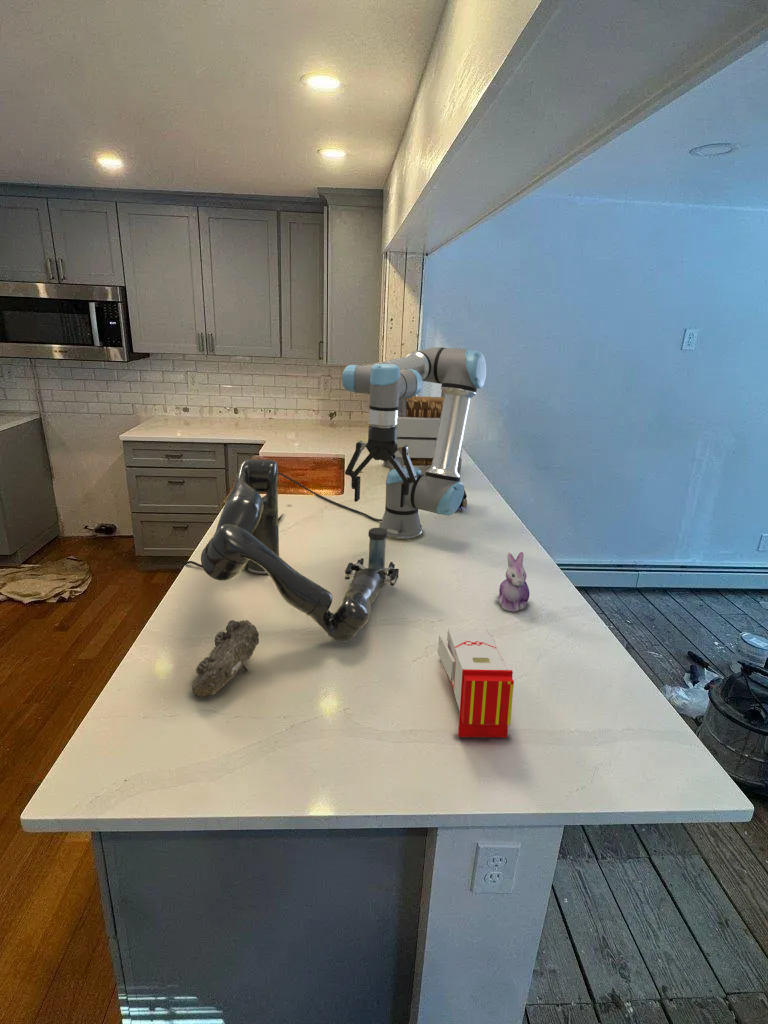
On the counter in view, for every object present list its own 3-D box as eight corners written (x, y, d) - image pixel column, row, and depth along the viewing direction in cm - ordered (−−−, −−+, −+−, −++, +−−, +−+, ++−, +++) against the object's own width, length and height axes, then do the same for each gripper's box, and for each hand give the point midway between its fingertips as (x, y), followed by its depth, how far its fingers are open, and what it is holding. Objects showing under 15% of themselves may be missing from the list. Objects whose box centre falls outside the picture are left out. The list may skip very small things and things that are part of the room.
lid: (380, 531, 162) (380, 526, 162) (390, 537, 158) (391, 532, 158) (364, 534, 159) (364, 529, 159) (375, 541, 155) (375, 535, 155)
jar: (377, 577, 167) (380, 528, 162) (387, 584, 163) (389, 533, 158) (364, 581, 164) (366, 531, 159) (373, 587, 161) (375, 536, 155)
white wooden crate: (382, 463, 289) (386, 382, 275) (445, 464, 293) (451, 384, 279) (390, 482, 257) (394, 392, 243) (460, 483, 261) (468, 394, 247)
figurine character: (467, 516, 223) (461, 500, 237) (469, 499, 220) (463, 483, 233) (450, 516, 223) (446, 499, 236) (452, 498, 220) (447, 483, 233)
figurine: (511, 616, 149) (518, 564, 143) (487, 598, 157) (493, 549, 152) (539, 609, 153) (547, 558, 148) (514, 592, 161) (521, 544, 156)
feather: (290, 508, 223) (292, 504, 223) (272, 532, 197) (275, 527, 196) (286, 505, 223) (289, 501, 223) (268, 529, 197) (271, 525, 196)
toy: (488, 613, 130) (523, 677, 101) (484, 667, 133) (517, 744, 104) (435, 612, 130) (455, 676, 101) (432, 666, 133) (451, 743, 103)
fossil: (211, 622, 131) (258, 592, 126) (240, 650, 134) (286, 622, 129) (171, 690, 112) (224, 658, 107) (205, 721, 115) (258, 691, 110)
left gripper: (337, 597, 149) (352, 571, 164) (390, 605, 147) (400, 578, 162) (337, 571, 147) (353, 547, 162) (391, 579, 144) (402, 554, 159)
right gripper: (431, 426, 149) (425, 504, 156) (342, 418, 154) (341, 493, 162) (426, 432, 142) (420, 512, 149) (334, 423, 147) (332, 501, 155)
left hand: (377, 563), depth 162 cm, fingers open, 8 cm apart
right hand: (379, 503), depth 155 cm, fingers open, 12 cm apart
